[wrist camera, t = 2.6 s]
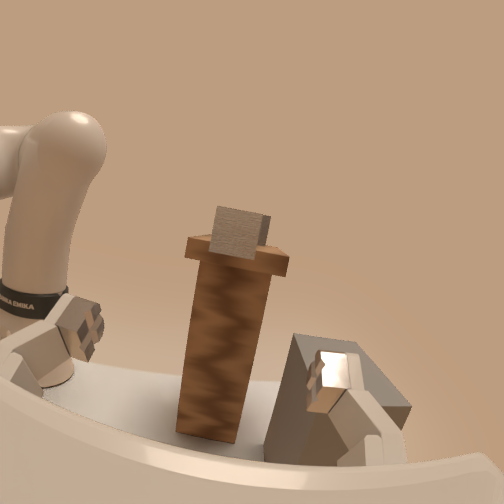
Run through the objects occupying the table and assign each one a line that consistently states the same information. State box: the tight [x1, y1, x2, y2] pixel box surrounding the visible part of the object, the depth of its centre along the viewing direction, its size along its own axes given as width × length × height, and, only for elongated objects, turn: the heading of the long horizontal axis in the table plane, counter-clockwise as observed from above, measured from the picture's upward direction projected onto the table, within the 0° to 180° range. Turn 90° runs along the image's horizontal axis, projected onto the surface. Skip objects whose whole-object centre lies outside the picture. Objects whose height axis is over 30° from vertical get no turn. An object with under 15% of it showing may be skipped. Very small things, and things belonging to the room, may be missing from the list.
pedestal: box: [264, 333, 412, 467], centre depth 29 cm, size 8×16×17 cm, turn 0°
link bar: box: [209, 206, 271, 260], centre depth 33 cm, size 6×26×4 cm, turn 0°
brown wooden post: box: [176, 234, 289, 443], centre depth 39 cm, size 10×16×26 cm, turn 0°
